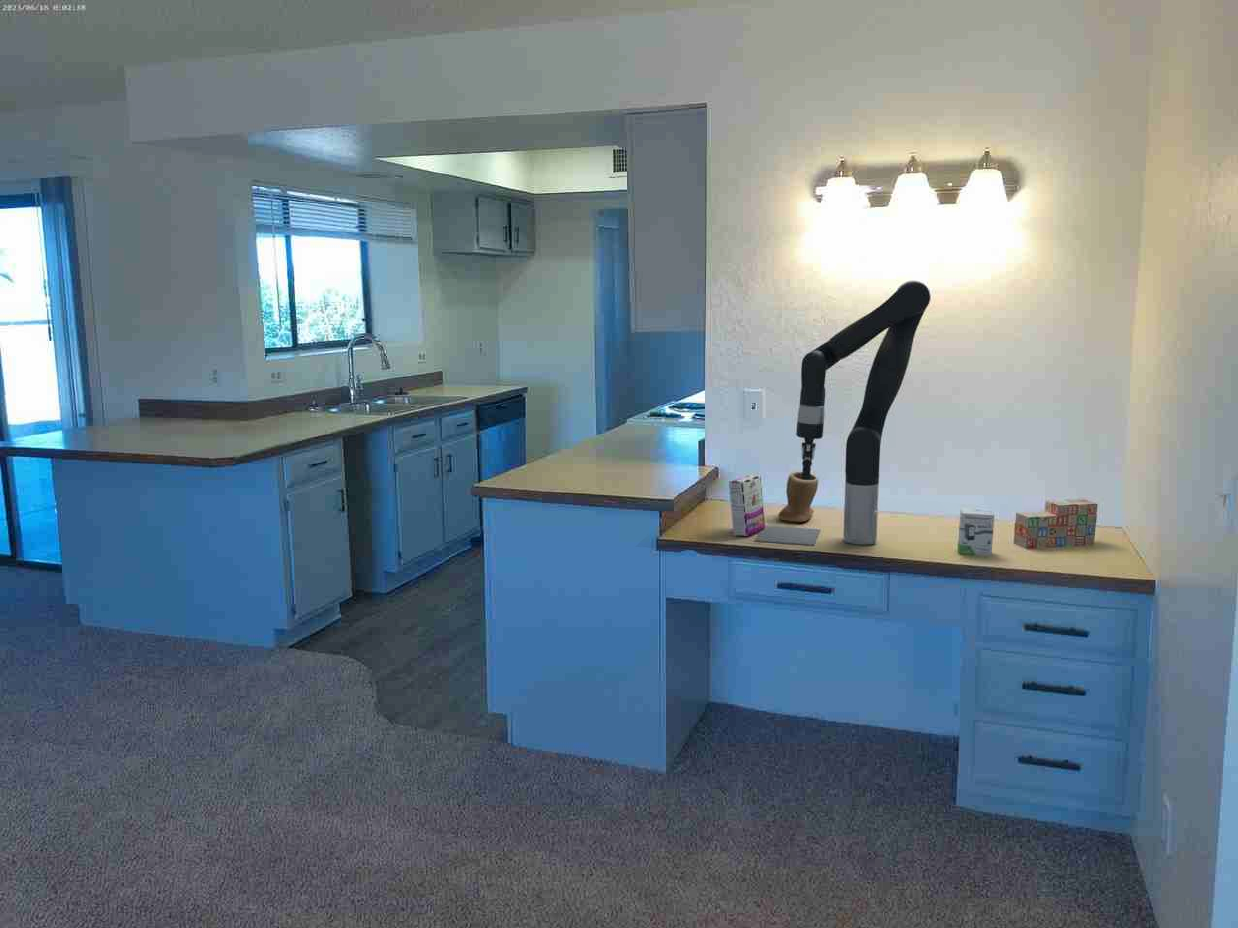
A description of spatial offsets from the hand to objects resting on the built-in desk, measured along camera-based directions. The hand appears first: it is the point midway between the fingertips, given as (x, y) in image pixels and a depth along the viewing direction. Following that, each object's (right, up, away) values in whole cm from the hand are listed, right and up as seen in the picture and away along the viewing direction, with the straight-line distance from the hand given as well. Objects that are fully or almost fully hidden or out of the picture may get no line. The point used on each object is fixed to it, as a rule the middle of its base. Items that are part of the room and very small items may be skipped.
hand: (806, 476), depth 281 cm
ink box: (+44, -21, -14) cm, 51 cm away
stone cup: (+3, -14, +25) cm, 29 cm away
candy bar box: (-15, -17, +8) cm, 24 cm away
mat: (-4, -18, +5) cm, 19 cm away
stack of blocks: (+69, -20, -5) cm, 72 cm away
